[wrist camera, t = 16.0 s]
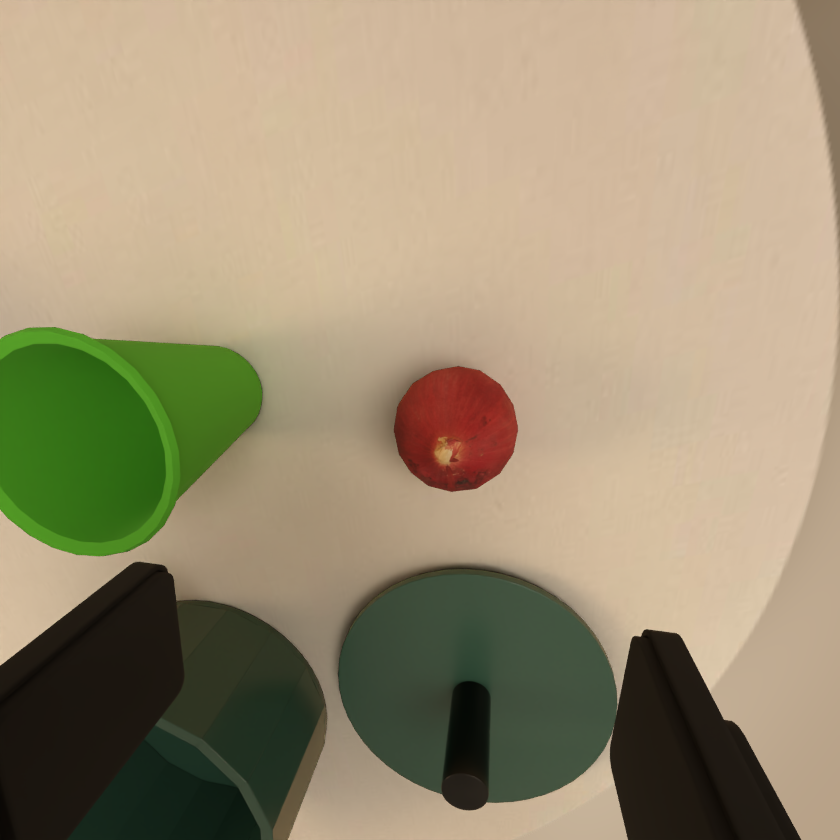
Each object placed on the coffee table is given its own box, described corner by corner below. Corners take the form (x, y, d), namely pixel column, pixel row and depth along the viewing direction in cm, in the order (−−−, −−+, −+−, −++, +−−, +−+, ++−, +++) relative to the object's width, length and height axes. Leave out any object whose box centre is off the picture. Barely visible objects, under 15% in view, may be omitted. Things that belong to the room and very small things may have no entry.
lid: (634, 583, 28) (678, 681, 21) (591, 806, 33) (616, 946, 26) (343, 546, 30) (298, 623, 23) (343, 759, 35) (304, 875, 28)
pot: (326, 582, 31) (265, 687, 23) (328, 831, 37) (280, 984, 29) (96, 550, 33) (-33, 636, 25) (133, 790, 39) (38, 921, 31)
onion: (522, 451, 27) (532, 518, 19) (421, 466, 28) (392, 534, 20) (505, 347, 25) (507, 374, 18) (399, 367, 27) (359, 401, 19)
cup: (177, 283, 27) (-24, 282, 17) (319, 357, 27) (207, 402, 17) (136, 419, 30) (-59, 491, 20) (265, 487, 30) (139, 596, 19)
